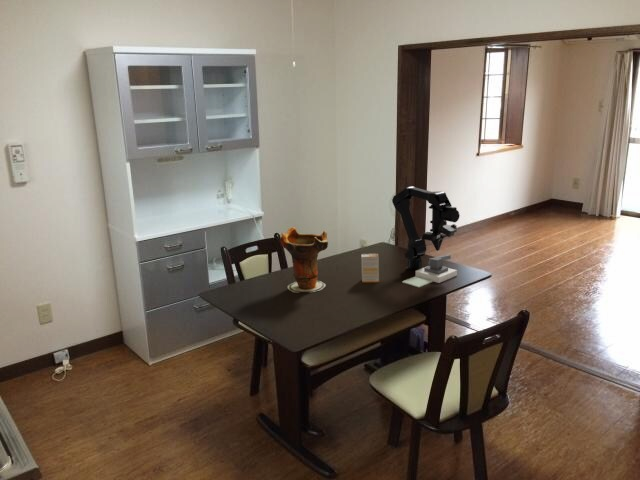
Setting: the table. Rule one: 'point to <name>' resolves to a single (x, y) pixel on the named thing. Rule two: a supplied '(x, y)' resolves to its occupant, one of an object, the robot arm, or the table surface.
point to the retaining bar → (442, 258)
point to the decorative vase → (304, 258)
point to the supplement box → (370, 267)
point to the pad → (417, 281)
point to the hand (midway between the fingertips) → (437, 250)
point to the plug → (436, 266)
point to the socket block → (436, 275)
